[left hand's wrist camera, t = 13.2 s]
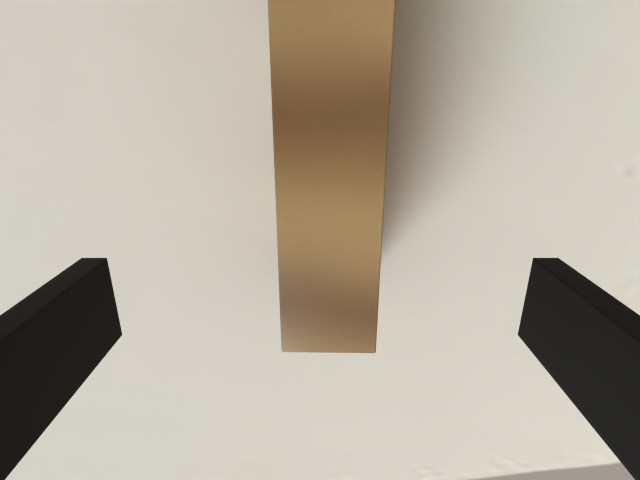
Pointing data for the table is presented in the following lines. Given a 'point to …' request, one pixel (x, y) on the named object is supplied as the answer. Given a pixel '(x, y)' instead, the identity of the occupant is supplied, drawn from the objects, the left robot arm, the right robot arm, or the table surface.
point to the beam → (330, 167)
